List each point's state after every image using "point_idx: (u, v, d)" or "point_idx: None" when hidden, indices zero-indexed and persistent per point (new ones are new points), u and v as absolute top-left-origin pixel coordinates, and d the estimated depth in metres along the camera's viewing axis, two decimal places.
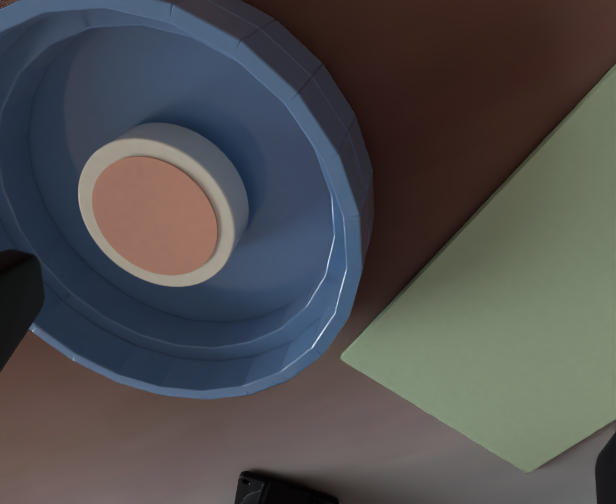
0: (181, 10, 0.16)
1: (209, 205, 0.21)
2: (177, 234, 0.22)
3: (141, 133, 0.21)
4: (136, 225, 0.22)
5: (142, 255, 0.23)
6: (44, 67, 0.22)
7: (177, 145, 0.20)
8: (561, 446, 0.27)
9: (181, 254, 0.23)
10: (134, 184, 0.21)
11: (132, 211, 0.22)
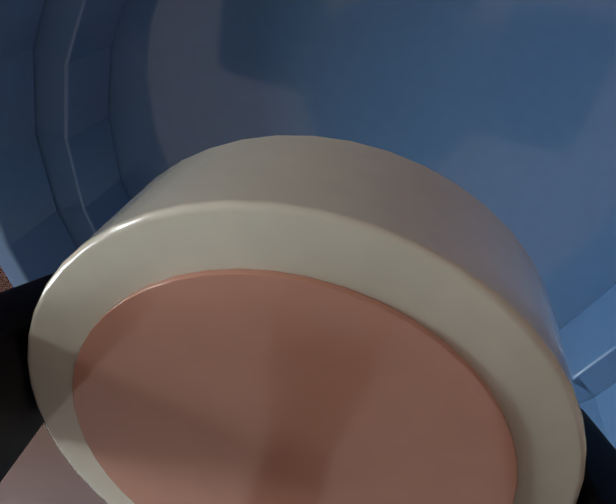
0: None
1: (509, 502, 0.06)
2: None
3: (378, 201, 0.05)
4: (205, 445, 0.07)
5: (182, 502, 0.08)
6: None
7: (517, 302, 0.05)
8: None
9: None
10: (272, 361, 0.06)
11: (217, 418, 0.06)
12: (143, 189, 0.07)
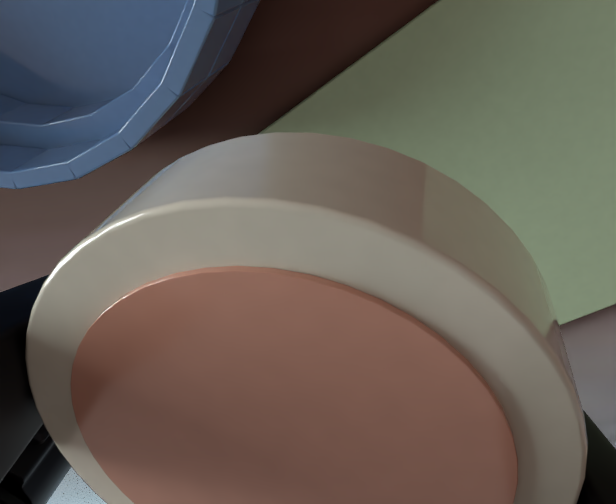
0: None
1: (509, 501, 0.06)
2: None
3: (378, 197, 0.05)
4: (204, 443, 0.07)
5: (181, 500, 0.08)
6: None
7: (518, 299, 0.05)
8: None
9: None
10: (271, 358, 0.06)
11: (216, 416, 0.06)
12: None
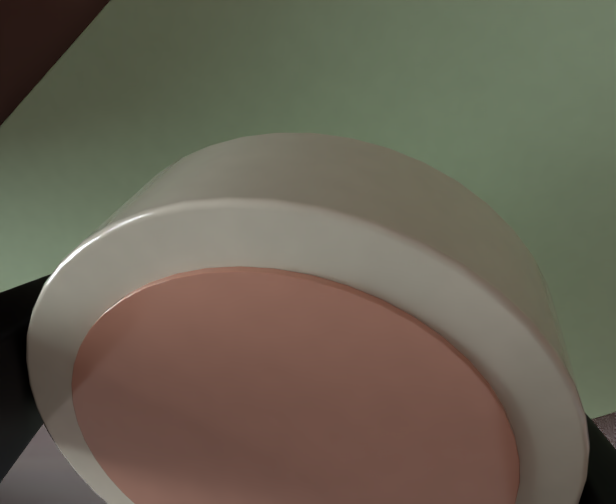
0: None
1: (511, 502, 0.06)
2: None
3: (379, 198, 0.05)
4: (205, 444, 0.07)
5: (181, 501, 0.08)
6: None
7: (520, 300, 0.05)
8: None
9: None
10: (272, 359, 0.06)
11: (217, 417, 0.06)
12: (142, 187, 0.07)
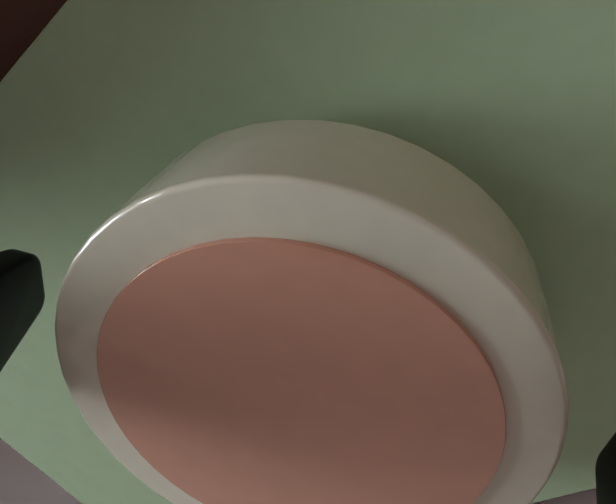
0: None
1: (498, 454, 0.07)
2: (334, 464, 0.08)
3: (379, 175, 0.06)
4: (219, 407, 0.07)
5: (195, 463, 0.08)
6: None
7: (505, 266, 0.06)
8: None
9: (312, 501, 0.08)
10: (282, 323, 0.06)
11: (231, 379, 0.07)
12: (162, 170, 0.07)
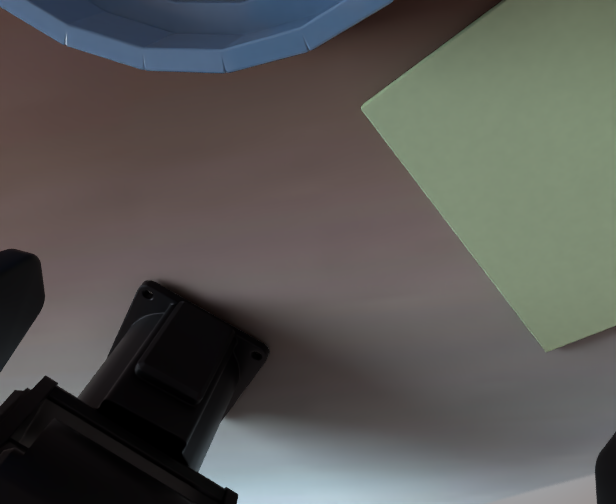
0: None
1: None
2: None
3: None
4: None
5: None
6: None
7: None
8: (613, 318, 0.20)
9: None
10: None
11: None
12: None
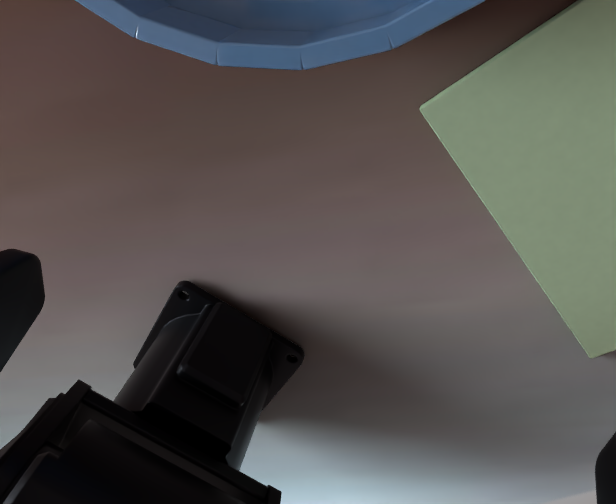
0: None
1: None
2: None
3: None
4: None
5: None
6: None
7: None
8: None
9: None
10: None
11: None
12: None
